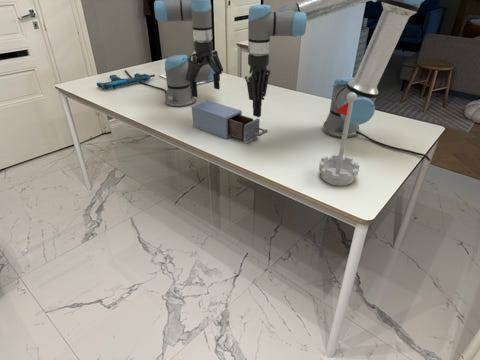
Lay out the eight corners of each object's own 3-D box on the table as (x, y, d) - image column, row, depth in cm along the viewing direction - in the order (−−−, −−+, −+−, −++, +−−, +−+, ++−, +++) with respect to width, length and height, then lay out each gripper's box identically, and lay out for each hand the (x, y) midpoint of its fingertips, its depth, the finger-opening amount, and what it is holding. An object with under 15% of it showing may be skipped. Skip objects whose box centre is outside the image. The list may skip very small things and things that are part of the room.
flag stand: (341, 164, 125) (356, 83, 108) (364, 182, 115) (385, 96, 98) (310, 171, 121) (321, 88, 105) (331, 190, 111) (347, 102, 94)
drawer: (269, 139, 141) (270, 122, 136) (257, 147, 135) (257, 129, 131) (225, 124, 154) (225, 108, 150) (211, 130, 148) (211, 114, 144)
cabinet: (241, 131, 150) (241, 110, 145) (226, 138, 143) (226, 117, 138) (208, 119, 161) (207, 100, 155) (193, 126, 154) (191, 106, 149)
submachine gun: (140, 68, 226) (159, 74, 209) (142, 73, 228) (160, 80, 211) (89, 77, 207) (104, 85, 190) (90, 84, 209) (106, 92, 192)
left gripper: (217, 34, 145) (219, 84, 157) (172, 44, 129) (178, 98, 141) (230, 37, 141) (231, 87, 153) (186, 47, 125) (191, 102, 137)
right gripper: (261, 48, 127) (259, 108, 140) (238, 55, 119) (239, 118, 131) (277, 51, 123) (274, 113, 136) (255, 58, 115) (254, 123, 127)
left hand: (206, 92), depth 147 cm, fingers open, 13 cm apart
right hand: (256, 115), depth 134 cm, fingers closed
